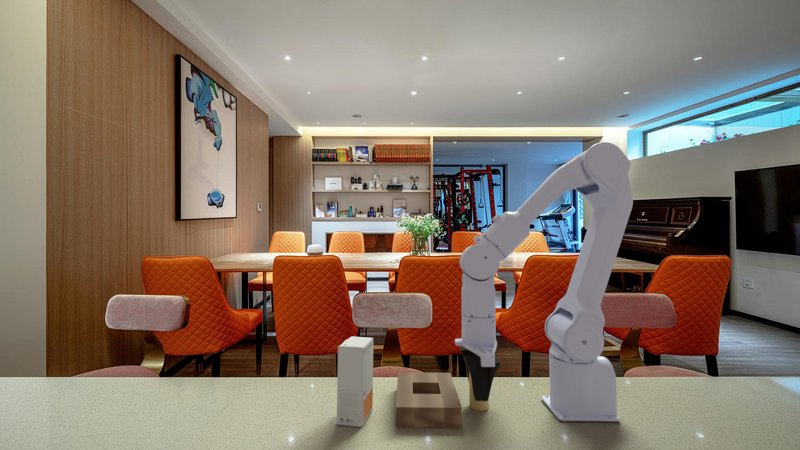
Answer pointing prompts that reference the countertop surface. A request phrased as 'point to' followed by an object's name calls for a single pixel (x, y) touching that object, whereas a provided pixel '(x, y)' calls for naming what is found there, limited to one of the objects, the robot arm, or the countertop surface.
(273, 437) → the countertop surface
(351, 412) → the skincare box
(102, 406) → the countertop surface
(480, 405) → the peg
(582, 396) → the robot arm
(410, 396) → the socket block
